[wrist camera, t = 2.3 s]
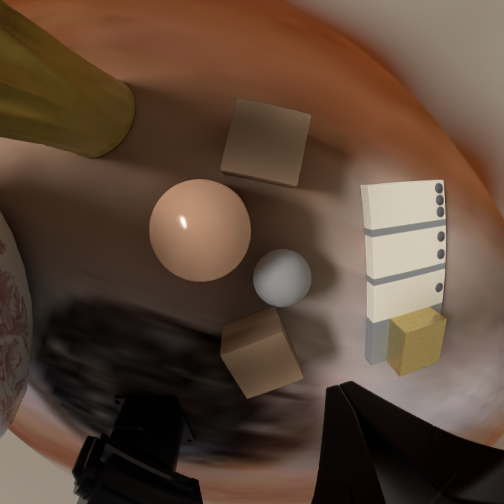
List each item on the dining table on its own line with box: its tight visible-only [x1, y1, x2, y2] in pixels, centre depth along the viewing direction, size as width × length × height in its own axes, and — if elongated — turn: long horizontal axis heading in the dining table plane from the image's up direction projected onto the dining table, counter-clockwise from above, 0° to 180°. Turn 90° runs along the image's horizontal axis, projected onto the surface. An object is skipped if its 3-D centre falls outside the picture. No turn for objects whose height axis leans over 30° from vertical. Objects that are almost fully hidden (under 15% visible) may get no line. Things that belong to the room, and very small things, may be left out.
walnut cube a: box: [220, 306, 304, 399], centre depth 18 cm, size 4×4×4 cm
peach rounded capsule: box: [149, 179, 251, 282], centre depth 16 cm, size 5×5×5 cm
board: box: [360, 180, 446, 365], centre depth 19 cm, size 14×7×1 cm, turn 9°
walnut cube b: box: [220, 98, 311, 187], centre depth 15 cm, size 4×4×4 cm
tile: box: [386, 307, 447, 377], centre depth 18 cm, size 4×4×2 cm
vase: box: [0, 0, 135, 158], centre depth 9 cm, size 6×6×14 cm
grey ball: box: [253, 249, 311, 307], centre depth 17 cm, size 4×4×4 cm
